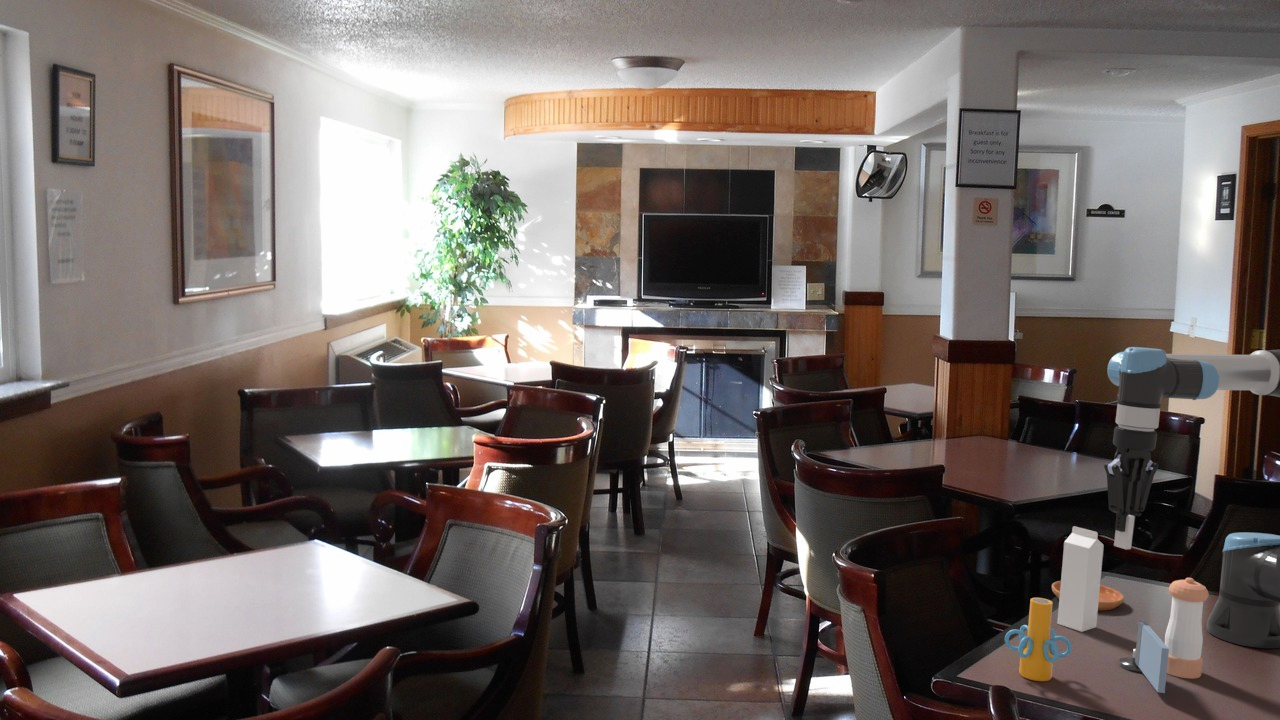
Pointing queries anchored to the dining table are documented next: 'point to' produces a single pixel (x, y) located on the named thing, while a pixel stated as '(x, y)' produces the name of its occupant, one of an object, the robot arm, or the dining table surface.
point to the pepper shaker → (1185, 628)
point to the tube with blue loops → (1038, 642)
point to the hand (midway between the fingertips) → (1122, 547)
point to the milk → (1080, 580)
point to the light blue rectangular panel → (1151, 656)
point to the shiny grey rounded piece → (1130, 663)
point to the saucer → (1106, 596)
